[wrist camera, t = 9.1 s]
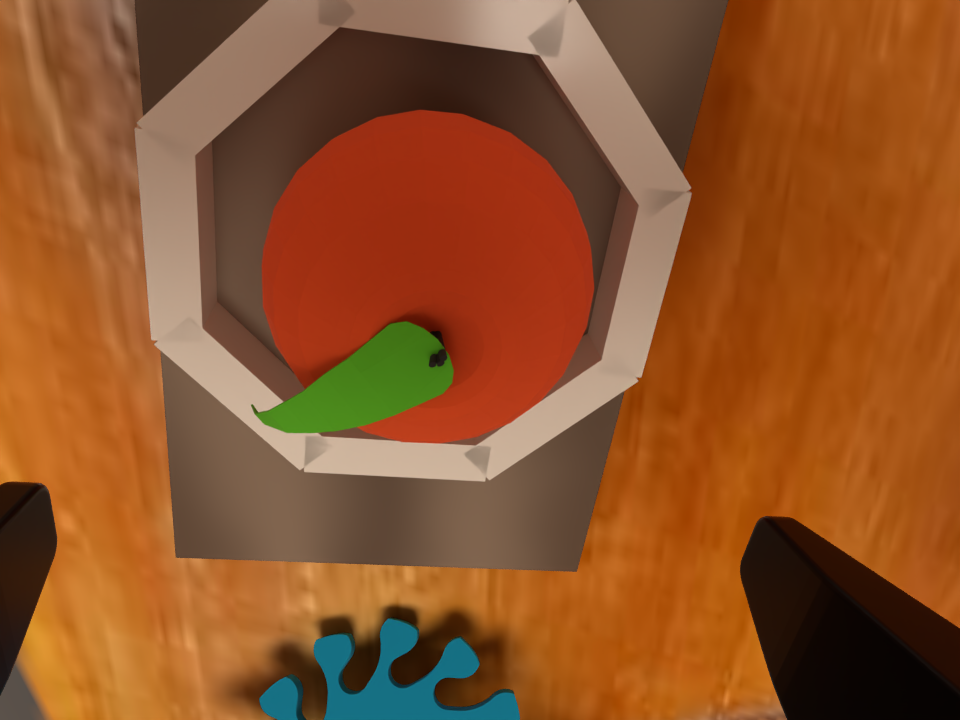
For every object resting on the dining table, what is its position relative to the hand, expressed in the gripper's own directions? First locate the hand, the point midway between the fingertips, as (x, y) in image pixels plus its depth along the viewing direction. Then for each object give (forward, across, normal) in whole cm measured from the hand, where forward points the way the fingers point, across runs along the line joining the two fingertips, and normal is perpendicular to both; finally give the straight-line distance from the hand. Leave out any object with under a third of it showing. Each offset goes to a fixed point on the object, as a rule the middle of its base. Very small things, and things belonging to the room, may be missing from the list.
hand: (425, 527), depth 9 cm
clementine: (+11, 0, 0) cm, 11 cm away
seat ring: (+12, 0, 0) cm, 12 cm away
